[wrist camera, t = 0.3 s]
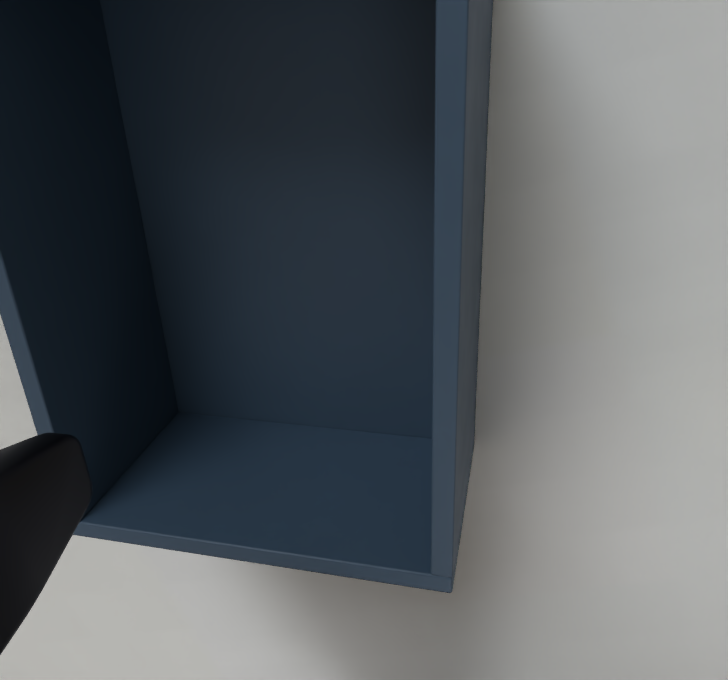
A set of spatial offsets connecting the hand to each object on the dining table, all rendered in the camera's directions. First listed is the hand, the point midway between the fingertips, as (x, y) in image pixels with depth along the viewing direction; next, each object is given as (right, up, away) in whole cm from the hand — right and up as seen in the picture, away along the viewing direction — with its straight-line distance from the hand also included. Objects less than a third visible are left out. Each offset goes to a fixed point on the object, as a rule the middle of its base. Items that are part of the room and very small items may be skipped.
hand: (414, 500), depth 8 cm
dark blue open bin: (-3, +6, +14) cm, 16 cm away
